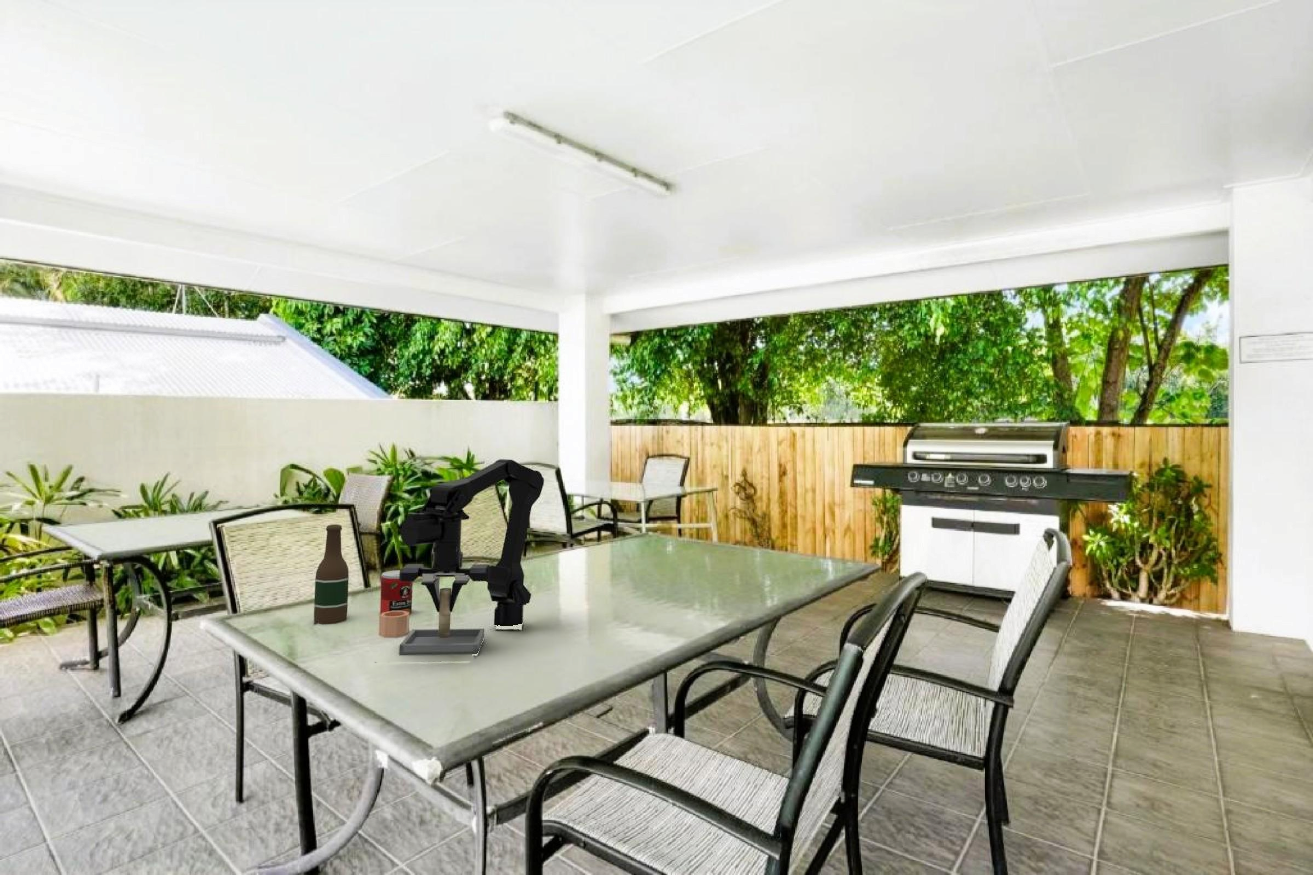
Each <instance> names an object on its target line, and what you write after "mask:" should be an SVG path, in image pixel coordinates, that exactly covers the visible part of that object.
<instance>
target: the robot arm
mask: <svg viewBox="0 0 1313 875" xmlns="http://www.w3.org/2000/svg"><path fill="white" fill-rule="evenodd" d="M501 481H503V482H504V483H506V484H508V494H509V497H510V498H509V499H510V500H511V507H510V512H509V517H508V521H507V526H506V531H505V536H504V540H503V541H504V542H503V545H502V551H501V556H500V559H499V561H497V563H496V564H495V565H489V564H486V563H484V564H482V563H479V564H478V563H477V564H476V563H473V564H472V565H471V567H470V568H468V567H467V568H466V567H463V559H464V553H463V551H462V548H461V546H462V544H461V543H462V542H461V541H462V521H463V520H465V521H466V520H469V519H470V516H469V515H468V514H467V513H466V512H465V511H464V509H465V508H466V507H467V506H468V505H470V503H472V501H473V499H474V497H475V496H476V495H478V494H479V493H481V492H483V491H485V490H487V489H488V488H491V487H492V486H494V485H496V484H498V483H500V482H501ZM544 483H545V479H544V477H543V475H542V473H541V471H539V470H534V469H532V468H530V467H527V466H525V465H522V464H520V463H519V462H517V461H515V460H513V459H506V458H503V459H502V458H500V459H497V460H495V462H493V463H491V464H489V465H488V466H485V467H483V468H481V469H480V470H478V471H475V472H473V473H472V474H470V475H468V476H465V477H464V478H461V479H455V480H449V481H445V482H441V483H437V484H436V485H434V486H433V488H432V489H431V493H430V495H429V496H428V498H427V500H426V502H425V503H424V505H423V506H422V507H421V509H420V511H419V512H418V513H416V512H415V513H414V512H411V513H410V512H409V513H407V519H406V520H404V521H403V523H402V525H401V528H400V532H399V533H400V538H401V541H402V542H403V543H404V545H405V546H407V547H413V546H416V547H417V546H421V545H429V544H433V547H432V549H431V554H430V562H432V568H431V567H429V568H428V567H424V564H423V563H407V564H406V565H405V566H403V567H402V568H400V573H399V581H413V582H414V581H415V580H417V579H418V578H419V577H420V578H421V579H422V581H421V582H420V585H421V586H425V588H426V589H427V591H428V592H429V594H430V596H431V599H432V602H433V604H434V607H435V610H436V612H437V613H439V603H440V580H441V578H443V577H444V578H447V577H449V578H451V577H453V578H454V581H453V582H452V585H451V600H450V612H451V613H453V611H454V607H455V605H456V602H457V599H458V596H459V594H460V592H461V590H462V587H463V586H467V584H468V583H469V582H470V580H471V581H472V582H486V583H487V588H486V589H487V591H488V592H489V595H490V599H491V602H497V603H496V607H494V610H493V611H494V612H493V613H494V614H493V626H494V625H497V626H498V625H500V626H513V625H518V624H522V623H523V621H524V606H526V605H527V604H529V603H530V602H531V597H532V594H531V592H530V591H529V590H528V588H527V587H526V586H525V585H524V582H525V572H524V569H523V567H522V564H521V562H522V556H523V552H524V548H525V542H526V538H527V531H528V526H529V521H530V517H531V513H532V512H531V511H532V509H533V508H532V507H533V505H535V503H536V502H537V500H539V498H540V496H541V493H542V491H543V488H544V485H545V484H544Z"/></svg>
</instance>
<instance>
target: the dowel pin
mask: <svg viewBox="0 0 1313 875" xmlns="http://www.w3.org/2000/svg"><path fill="white" fill-rule="evenodd" d="M439 591H440V603H439V612H438V629H439V633H438V637H439V638H448V637H450V629H451V615H452V614H451V613H452V612H450V600H451V592H452V587H451V588H450V587H441V588H439Z"/></svg>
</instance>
